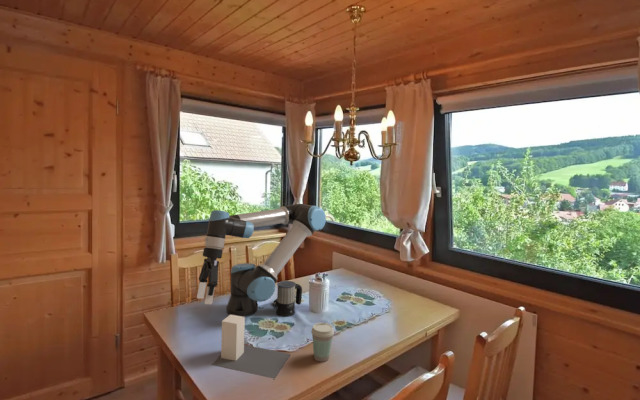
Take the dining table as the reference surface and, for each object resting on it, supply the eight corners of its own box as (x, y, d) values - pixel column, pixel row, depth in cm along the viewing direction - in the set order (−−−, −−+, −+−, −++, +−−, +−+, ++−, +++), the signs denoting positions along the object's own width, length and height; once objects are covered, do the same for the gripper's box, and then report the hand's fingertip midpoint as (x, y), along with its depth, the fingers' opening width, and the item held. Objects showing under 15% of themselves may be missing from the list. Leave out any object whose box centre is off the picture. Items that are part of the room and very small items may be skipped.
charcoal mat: (211, 366, 120) (211, 364, 120) (233, 344, 135) (233, 342, 135) (274, 380, 114) (274, 378, 114) (290, 355, 129) (290, 353, 129)
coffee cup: (331, 351, 133) (333, 322, 132) (333, 364, 125) (334, 332, 123) (310, 350, 133) (311, 321, 132) (310, 363, 124) (311, 332, 123)
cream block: (220, 357, 124) (221, 321, 123) (229, 349, 130) (229, 314, 129) (235, 360, 123) (236, 323, 121) (243, 352, 128) (244, 316, 127)
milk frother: (287, 318, 160) (288, 288, 159) (261, 310, 168) (262, 281, 167) (303, 308, 172) (305, 280, 171) (278, 301, 180) (279, 274, 179)
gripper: (197, 245, 147) (188, 295, 144) (212, 247, 126) (201, 306, 123) (214, 248, 151) (205, 296, 147) (231, 250, 130) (221, 307, 126)
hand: (203, 301), depth 135 cm, fingers open, 13 cm apart
